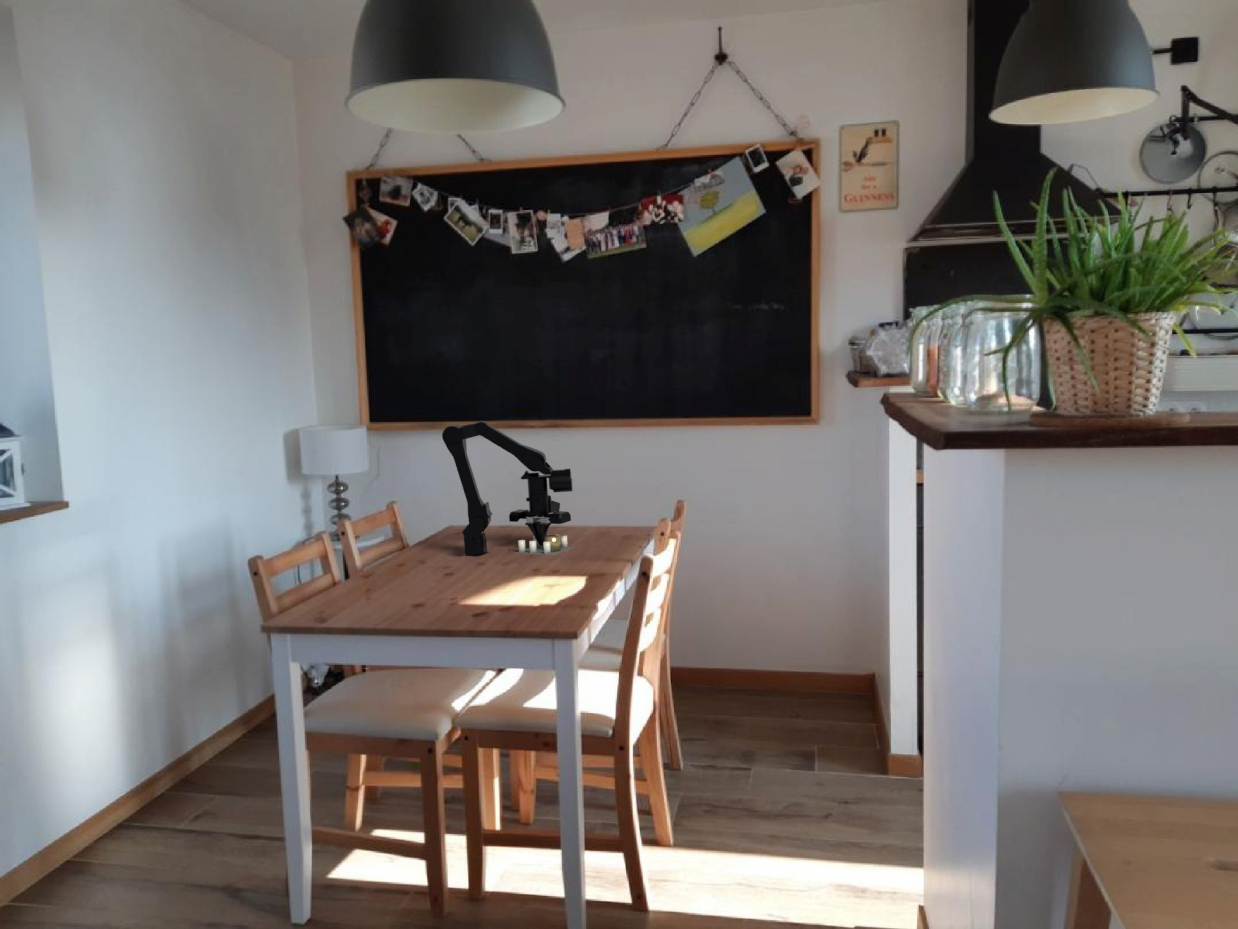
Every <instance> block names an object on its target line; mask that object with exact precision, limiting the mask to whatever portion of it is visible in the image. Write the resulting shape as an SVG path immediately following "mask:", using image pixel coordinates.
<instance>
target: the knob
mask: <svg viewBox="0 0 1238 929" xmlns="http://www.w3.org/2000/svg"><path fill="white" fill-rule="evenodd" d="M560 536H561V534H559V533H550V534H546V535H545V536H544V538H545V541H550V547H551V552H557V551H560V550H561V538H560ZM545 541H544V542H545Z"/></svg>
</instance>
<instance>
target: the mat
mask: <svg viewBox="0 0 1238 929" xmlns="http://www.w3.org/2000/svg"><path fill="white" fill-rule="evenodd" d="M536 548H537V553H534V554H533V555H538V556H539V555H540V556H541V555H542V556H552V557H553V556H557V555H559V554H561V553H564V552H567V551H569V550H572V549H575V548H576V546H568V548H561V550H560V551H557V552H551V554H547V555H545V554H544V546H543V545H540V546H536ZM525 549H526V552H524V553H521V555H522V554H525V555H532V554H531V553H530V546H529V547H527V548H526V547H525ZM514 554H520V553H519V550H518V551H515V552H514Z"/></svg>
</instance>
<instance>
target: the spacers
mask: <svg viewBox="0 0 1238 929" xmlns="http://www.w3.org/2000/svg"><path fill="white" fill-rule="evenodd" d="M528 543H529V544H528V545H529V547H530V553H531V554H530V555H535V554H534V553H537V548H536V546H540V545H539V543H538V542H537V540H536V538H535V536H534V534H533V533H532V540H529V541H528ZM560 543H561V548H568V547H569V545H568V544H569V543H568V535H560ZM517 544H518V551H519V553H518V554H522V553H524V552H526V540H525V539H520V540H517ZM543 546H544V554H545V555H544V556H548V555H547V554H551V547H550V541H544V542H543Z"/></svg>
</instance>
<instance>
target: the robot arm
mask: <svg viewBox="0 0 1238 929" xmlns="http://www.w3.org/2000/svg"><path fill="white" fill-rule="evenodd" d="M478 436H481V437H482V438H484V439H486V440H488V441H489V442H491V443H493V444H494V445H496V446H498V447H499V448H501V449H502V450H504V451H506V452H508V453H509V454H511V455H513V456H514V457H515V458H516V459H517V460H518V461H519V462H520V463H521V464H522V465H523V466H524V467H526V468H527V470H525V471H524V473H523V475H521V476H520V480H527V489H528V490H527V493H528V497H525V499H526V500H525V501H526V502H528V506H529V508H528V509H517V510H513V511H510V513H509V515H508V519H509V520H508V521H509V522H513V523H515V522H516V523H517V522H519V521H520V520H522V519H523V520H525V521H526V522H525V523H524V524H525V526H527V527H528V529H529V530H530V531H531V532H532V535H533V534H534V536H535V538H536V540H537V542H538V543H539V545H543V542H545V538H544V536H545V535H548V534H547V533H548V531H549V528H550V526H551V525H561V524H562V525H563V524H565V523H568V522H570V521H571V520H572V517H571V514H570V512H569V511H566V510H564V511H563V510H561V511H560V509H561V508H560V507H561V503H560V502H557V501H555V500H552V497H551V495H549V491H548V487H549V490H551V491H553V493H567V492H573V478H572V473H571V468H564V469H563V468H562V469H554V468H552V466H551V465H550V464H549V463H548V462H547V457H546V454H545V452H543V451H541V450H539V449H536V448H533V447H531V446H529V445H525V444H522V443H520V442H518V441H516V440H515V439H513V438H512V437H510V436H508V435H507V434H505V433H503V432H501V431H500V430H498V428H495V427H493V426H492V425H490V424H489V423H488V422H487V421H485V420H480V421H478V422H475V423H469V424H466V425H462V426H461V425H459V424H451V425H450V426H447V427H446V428H444V430H443V431H442V434H441V438H442V440H443V442H444V444H445V447H446V448H447V450H448V452H449V453H450V455H451V456H452V458H453V461H454V464H455V467H456V471H457V473H458V478H459V480H460V483H461V487H462V489H463V490H462V491H463V492H464V496H465V499H466V500H465V501H466V504H467V505H466V506H467V517H468V524H467V525H466V526H465V528H464V529H463V530H462V532H461V533H462V535H463V544H464V553H463V554H461V555H460V556H461V557H476V558H477V557H480V556H484V555H487V554H490V553H491V551H488V548H487V545H488V544H487V538H486V533H485V530H486V529H487V528H488V527H489V525H490V524H491V522H492V516H493V512H492V511H491V509H490V503H489V501H487V502H485V503H484V501H483V500H482V498H481V495H480V492H479V488H478V486H477V482H476V478H475V474H474V472H473V469H472V466H471V463H470V460H469V456H468V453H467V440H468V439H470V438H474V437H475V438H476V437H478ZM528 470H529V471H528ZM530 471H531V472H530ZM542 474H543V475H542ZM548 485H549V486H548Z"/></svg>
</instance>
